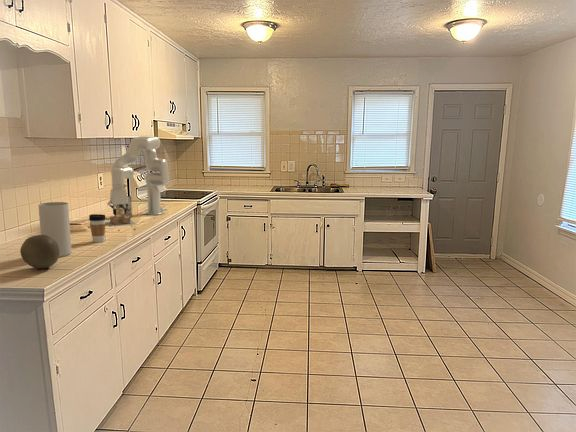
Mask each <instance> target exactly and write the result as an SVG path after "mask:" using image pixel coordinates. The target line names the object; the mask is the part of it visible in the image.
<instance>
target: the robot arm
mask: <svg viewBox="0 0 576 432" xmlns="http://www.w3.org/2000/svg"><path fill="white" fill-rule="evenodd" d="M160 146H161V140H160V138H159V137H158V136H148V135H147V136H146V135H144V136H143V135H142V136H137V137H133V138H132V139H131V141H130V143H129V145H128V147H127V150H126V152H125V153H124V154H123V155H120V156H119V157H117V159H116V160H115V161H114V162H113V165H112V166H111V170H110V172H111V189H110V192H109V196H110V197H109V201H108V202H107V203H106V205H107V206H108V207H110V208H111V209H112V214H113V216H115V215H116V205H119V204H122V205H123V209H124V214H125V213H126V208H127V207H128V205H130V204H131V205H132V201H131V202H130V201H129V200H128V198H127V196H128V194H127V193H128V192H127V189H126V188H127V187H128V185H127V184H125V179H132V178H133V177H134V175H135V171H134V168H132V167H128V166H125V165H128V164H131V163H133V162H136V161H137V160H138V159H139V158H140V155H141V152H142V151H143V154H144V159H145V167H146V170H147V171H150V172H148V173H147V174H146V175H145V178H144V179H145V183H146V192H147V211H146V212H145V215H149V216H156V215H157V216H159V215H163V214H164V212H167V211H168V208H167V207H165V208H164V207H161V205H162V203H161V190H160V189H161V188H160V186H163V187H165V186H168V184H169V183H170V172H169V164H168V161H167V159H164V158H158V155H157V149H159V148H160ZM125 204H126V205H125Z"/></svg>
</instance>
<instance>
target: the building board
mask: <svg viewBox="0 0 576 432" xmlns="http://www.w3.org/2000/svg"><path fill="white" fill-rule="evenodd" d="M105 225H107V226H108V227H109V228H110V227H121V226H131V225H137V223H136V222H134V221H133V220H132V219H130V224H121V225H113V224H112V223H110V221H105Z"/></svg>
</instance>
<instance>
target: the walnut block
mask: <svg viewBox="0 0 576 432" xmlns="http://www.w3.org/2000/svg"><path fill="white" fill-rule="evenodd" d="M130 220H131V217H128V216H126V215H125V217H119V218H116V217H115V215H113V216H109V222H110V223H112V224H113V225H121V224H130Z"/></svg>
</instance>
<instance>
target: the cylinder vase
mask: <svg viewBox="0 0 576 432" xmlns="http://www.w3.org/2000/svg"><path fill="white" fill-rule="evenodd" d="M37 205H38V215H39V217H38V219H39V228H40V229H39V231H40V235H47V236H49V237H51V238H52V239H54V240H55V241H56V242H57V244H58V246H59V251H60V254H59V258H62V257H63V258H64V257H66V256H68V255H70V254H71V253H72V240H71V239H72V238H71V227H70V226H71V225H70V211H69V210H70V209H69V202H64V201H53V202H50V201H49V202H43V203H38V204H37Z"/></svg>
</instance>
